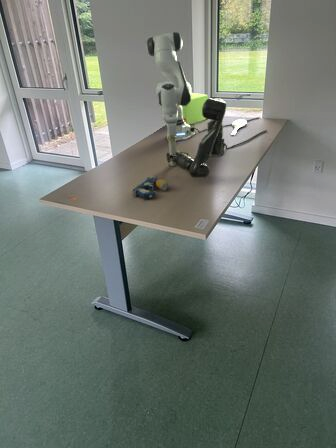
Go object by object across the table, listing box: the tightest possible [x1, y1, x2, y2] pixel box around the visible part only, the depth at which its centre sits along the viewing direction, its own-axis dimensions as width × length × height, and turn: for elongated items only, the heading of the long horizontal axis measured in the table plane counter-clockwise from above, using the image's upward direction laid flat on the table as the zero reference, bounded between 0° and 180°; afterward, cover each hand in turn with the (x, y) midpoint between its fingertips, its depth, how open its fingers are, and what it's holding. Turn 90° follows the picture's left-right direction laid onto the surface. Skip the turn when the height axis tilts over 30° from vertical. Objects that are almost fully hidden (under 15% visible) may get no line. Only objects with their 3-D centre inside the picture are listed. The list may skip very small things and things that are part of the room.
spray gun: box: [131, 175, 169, 200], centre depth 172 cm, size 21×4×15 cm
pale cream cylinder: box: [168, 141, 178, 167], centre depth 198 cm, size 4×4×17 cm
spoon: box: [231, 119, 248, 136], centre depth 255 cm, size 35×11×2 cm, turn 159°
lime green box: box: [182, 91, 209, 126], centre depth 283 cm, size 25×21×23 cm
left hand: (171, 139), depth 195 cm, fingers closed on lid, 4 cm apart
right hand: (170, 153), depth 202 cm, fingers closed on pale cream cylinder, 4 cm apart
